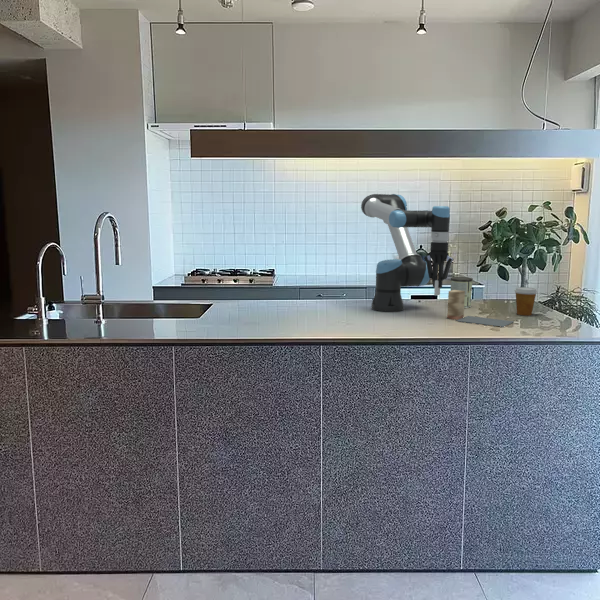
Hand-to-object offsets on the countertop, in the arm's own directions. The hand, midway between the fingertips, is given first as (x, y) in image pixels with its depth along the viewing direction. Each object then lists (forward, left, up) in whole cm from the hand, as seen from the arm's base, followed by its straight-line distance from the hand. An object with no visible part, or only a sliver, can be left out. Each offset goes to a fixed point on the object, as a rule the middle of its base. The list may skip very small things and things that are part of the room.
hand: (437, 294), depth 250 cm
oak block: (+9, 0, -10) cm, 13 cm away
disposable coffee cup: (+30, +29, -10) cm, 43 cm away
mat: (+22, 0, -10) cm, 24 cm away
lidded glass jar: (-1, +31, -10) cm, 32 cm away
